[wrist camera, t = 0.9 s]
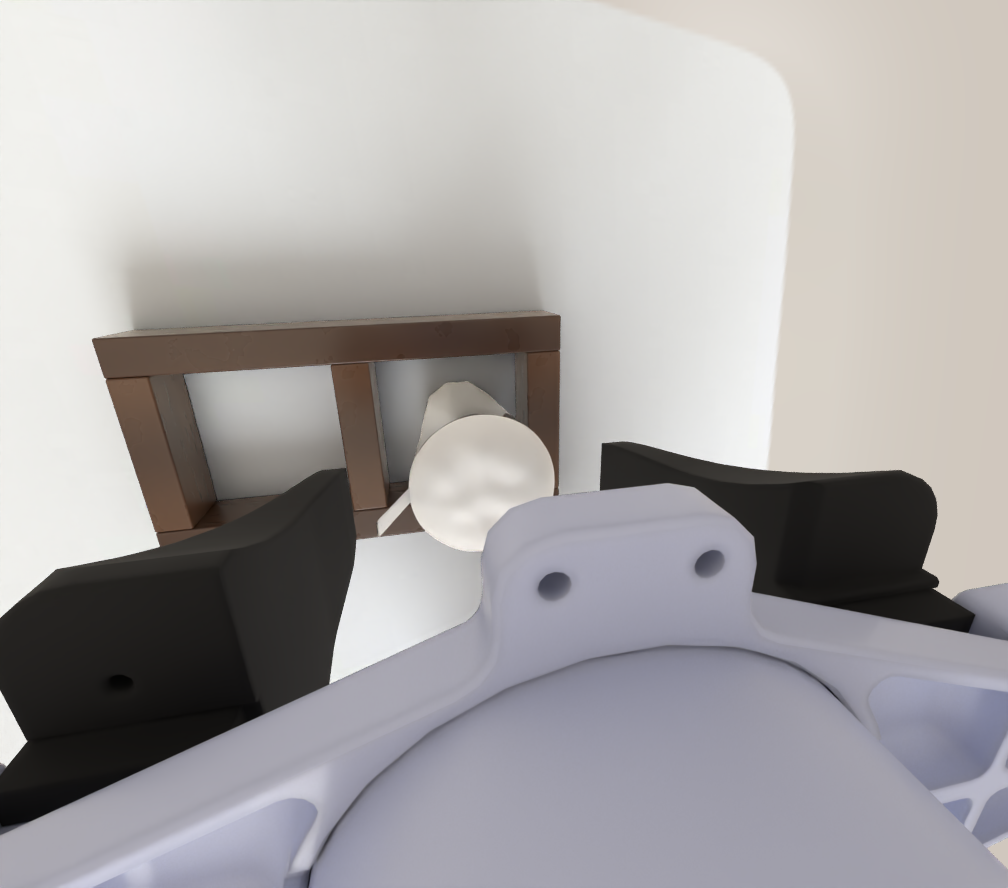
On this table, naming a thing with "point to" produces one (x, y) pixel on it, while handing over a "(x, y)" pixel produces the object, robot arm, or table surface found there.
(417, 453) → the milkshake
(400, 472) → the table surface
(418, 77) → the table surface
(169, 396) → the rack
